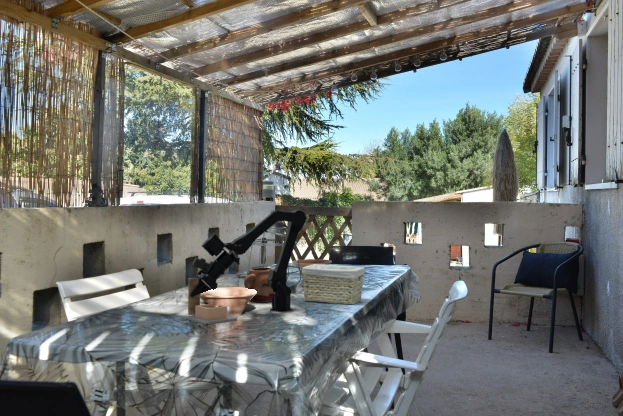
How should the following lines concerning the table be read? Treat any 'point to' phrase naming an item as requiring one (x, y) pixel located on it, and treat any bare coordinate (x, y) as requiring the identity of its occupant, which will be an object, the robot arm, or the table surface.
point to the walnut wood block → (192, 300)
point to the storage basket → (333, 283)
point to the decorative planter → (259, 284)
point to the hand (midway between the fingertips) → (190, 295)
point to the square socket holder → (210, 314)
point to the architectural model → (241, 279)
